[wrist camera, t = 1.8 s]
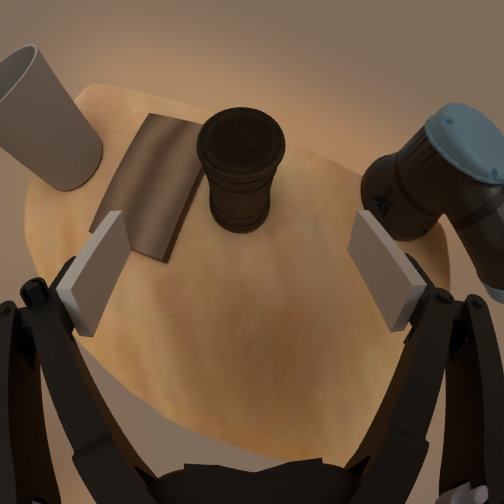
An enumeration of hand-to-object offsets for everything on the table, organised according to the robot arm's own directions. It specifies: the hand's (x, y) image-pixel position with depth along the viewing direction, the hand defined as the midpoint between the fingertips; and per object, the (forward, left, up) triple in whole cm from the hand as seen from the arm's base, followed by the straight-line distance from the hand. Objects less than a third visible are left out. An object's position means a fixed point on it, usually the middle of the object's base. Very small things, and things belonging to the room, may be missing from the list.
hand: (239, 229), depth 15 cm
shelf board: (+17, -9, -26) cm, 32 cm away
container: (+3, -10, -26) cm, 28 cm away
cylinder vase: (+35, -9, -26) cm, 45 cm away
